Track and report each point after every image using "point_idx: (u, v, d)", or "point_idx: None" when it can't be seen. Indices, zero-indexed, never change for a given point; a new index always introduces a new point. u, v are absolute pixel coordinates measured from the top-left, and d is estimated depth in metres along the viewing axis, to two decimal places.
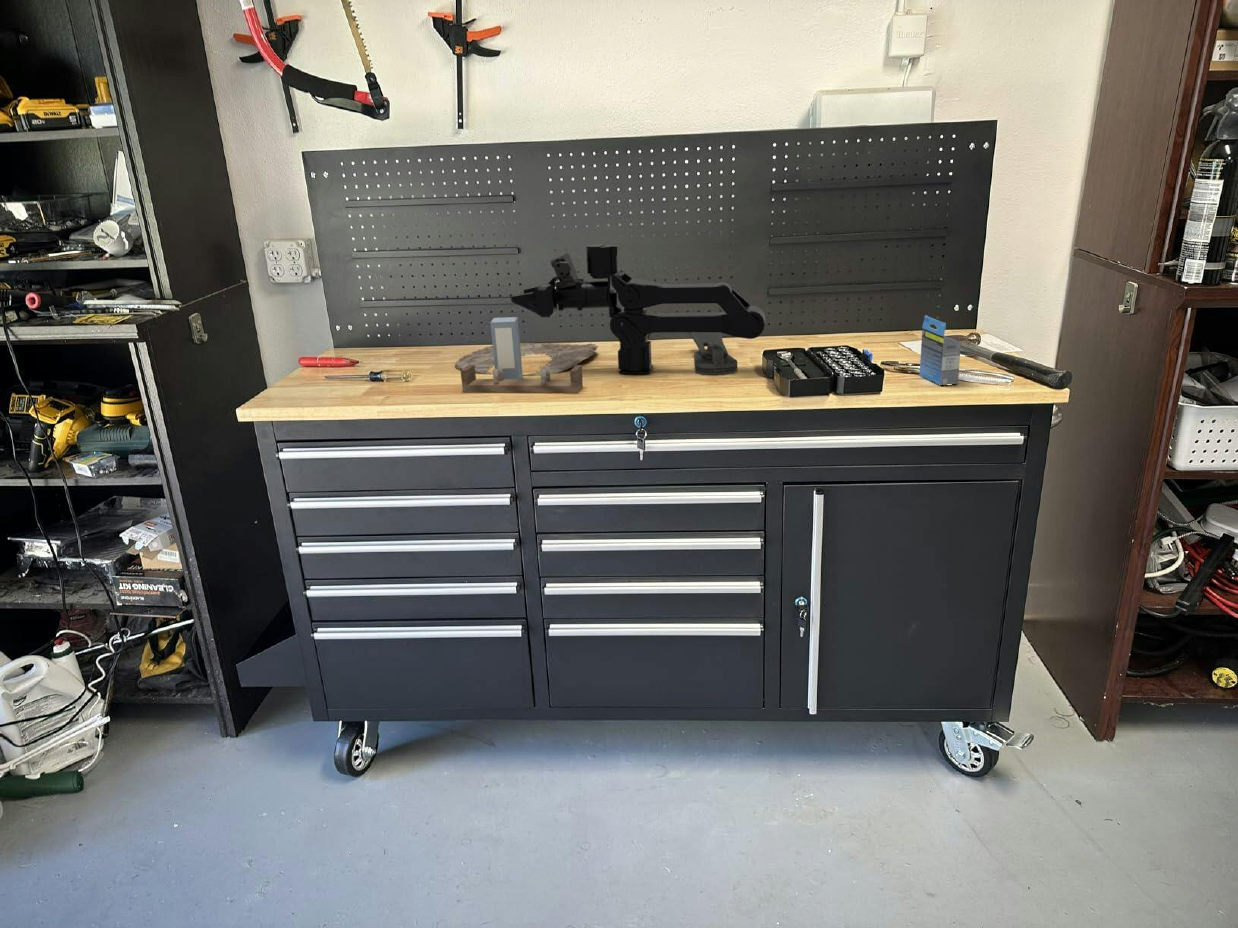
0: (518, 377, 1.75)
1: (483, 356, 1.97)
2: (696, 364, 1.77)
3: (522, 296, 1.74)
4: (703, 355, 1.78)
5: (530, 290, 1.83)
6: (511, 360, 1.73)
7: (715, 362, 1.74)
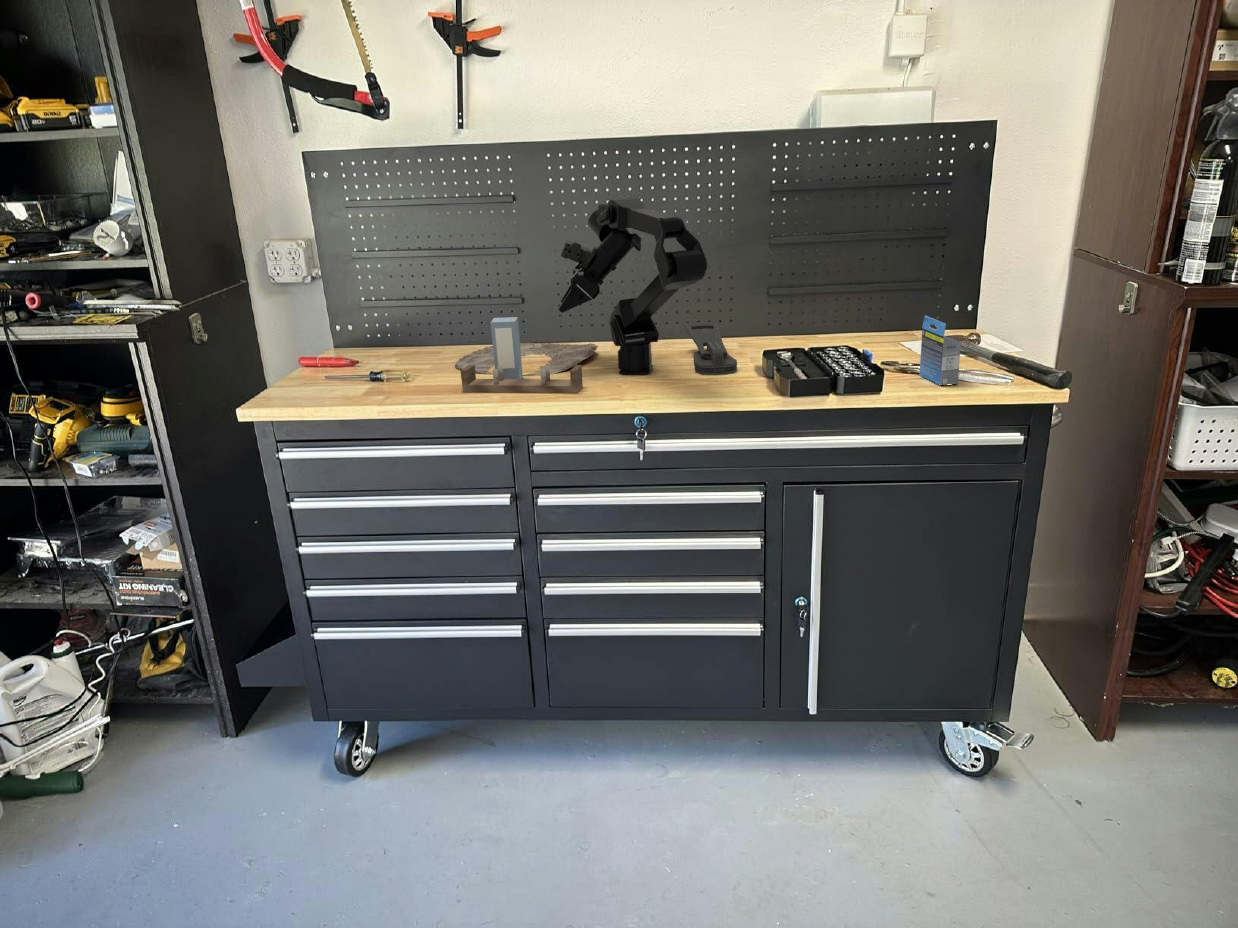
0: (518, 377, 1.75)
1: (483, 356, 1.97)
2: (696, 364, 1.77)
3: (565, 300, 1.75)
4: (703, 355, 1.78)
5: (565, 297, 1.85)
6: (511, 360, 1.73)
7: (715, 362, 1.74)
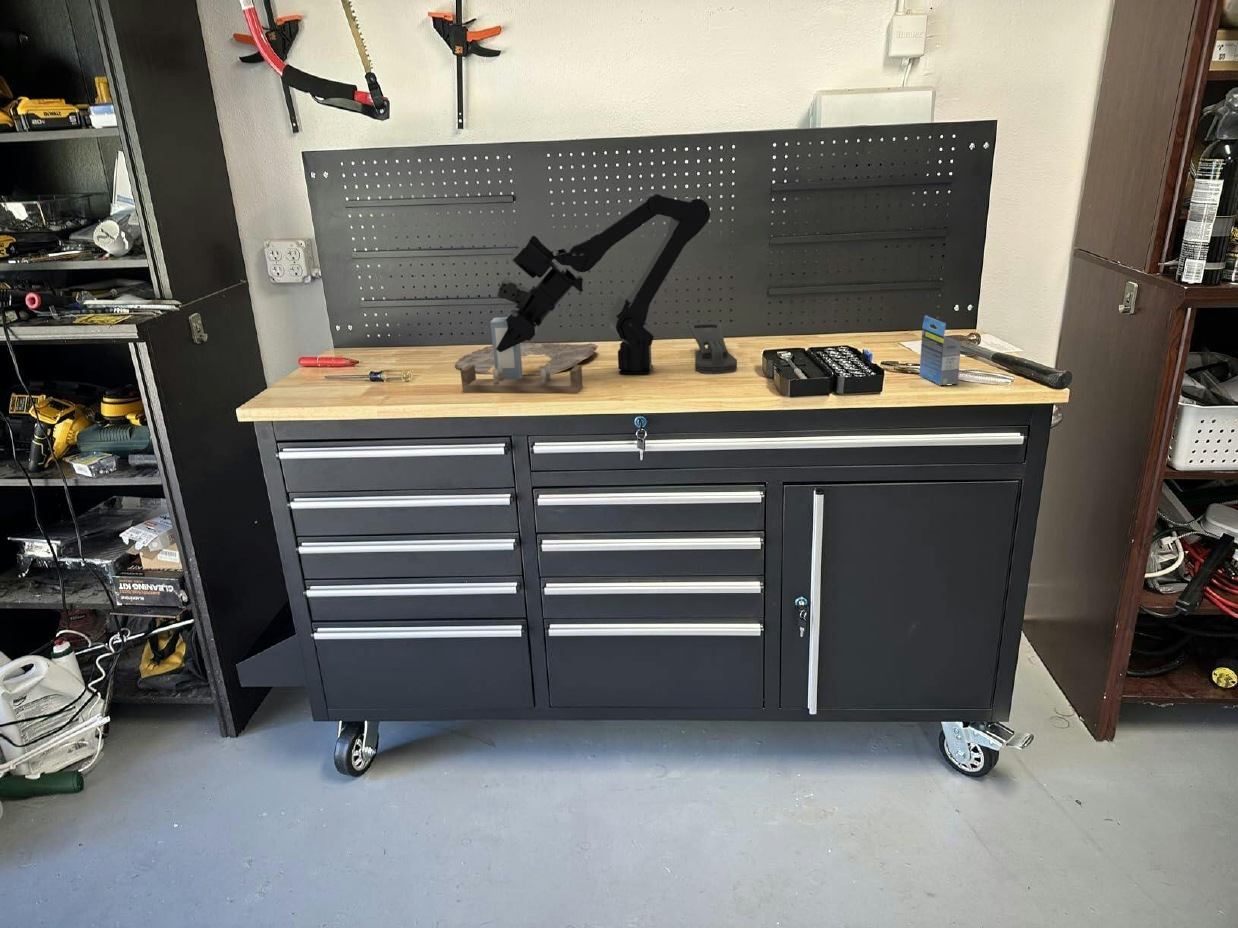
0: (518, 377, 1.75)
1: (483, 356, 1.97)
2: (696, 363, 1.78)
3: (502, 339, 1.71)
4: (703, 354, 1.79)
5: None
6: (511, 360, 1.73)
7: (714, 361, 1.75)
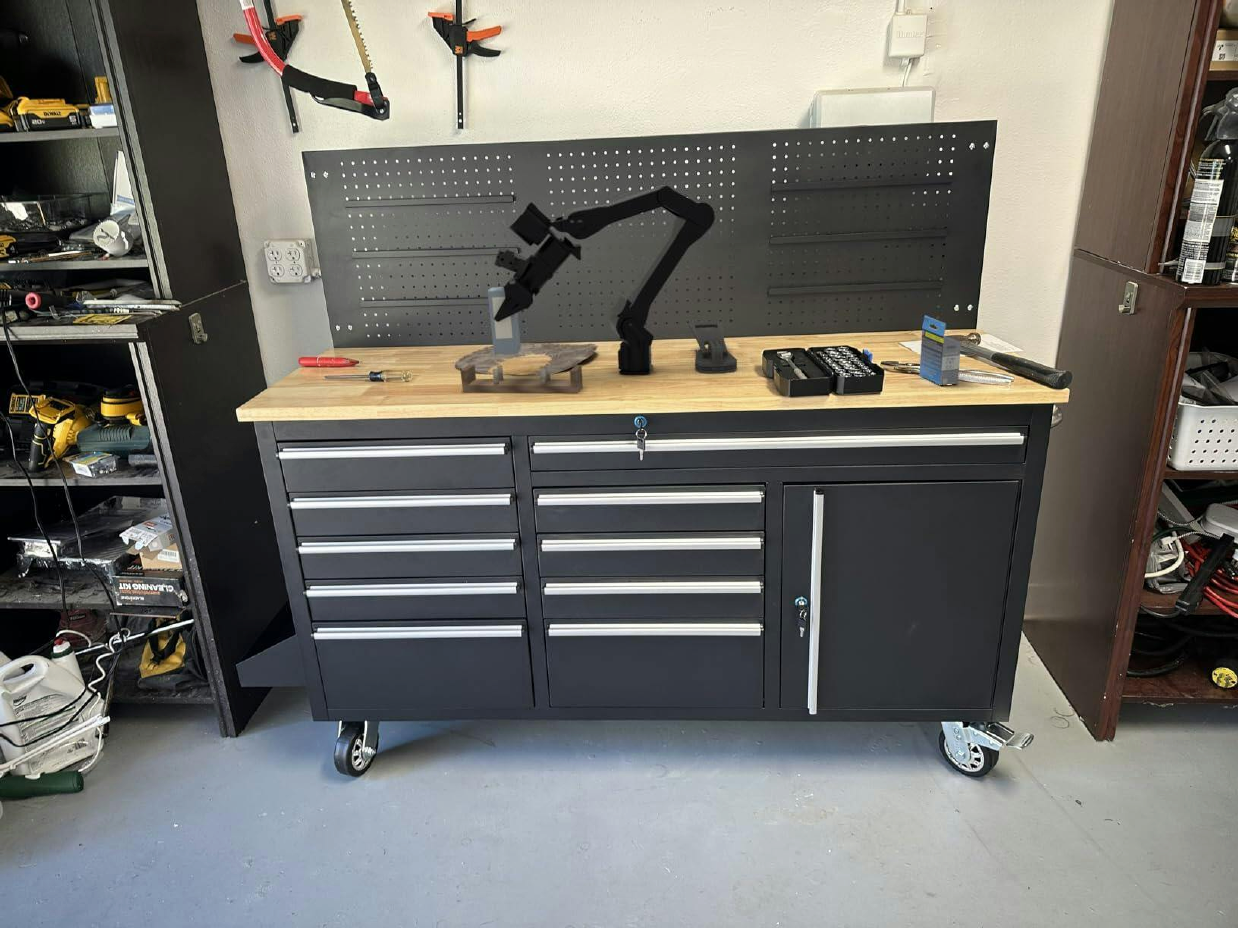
0: (516, 347, 1.73)
1: (483, 356, 1.97)
2: (696, 362, 1.78)
3: (500, 308, 1.69)
4: (703, 353, 1.80)
5: None
6: (509, 330, 1.71)
7: (714, 360, 1.75)
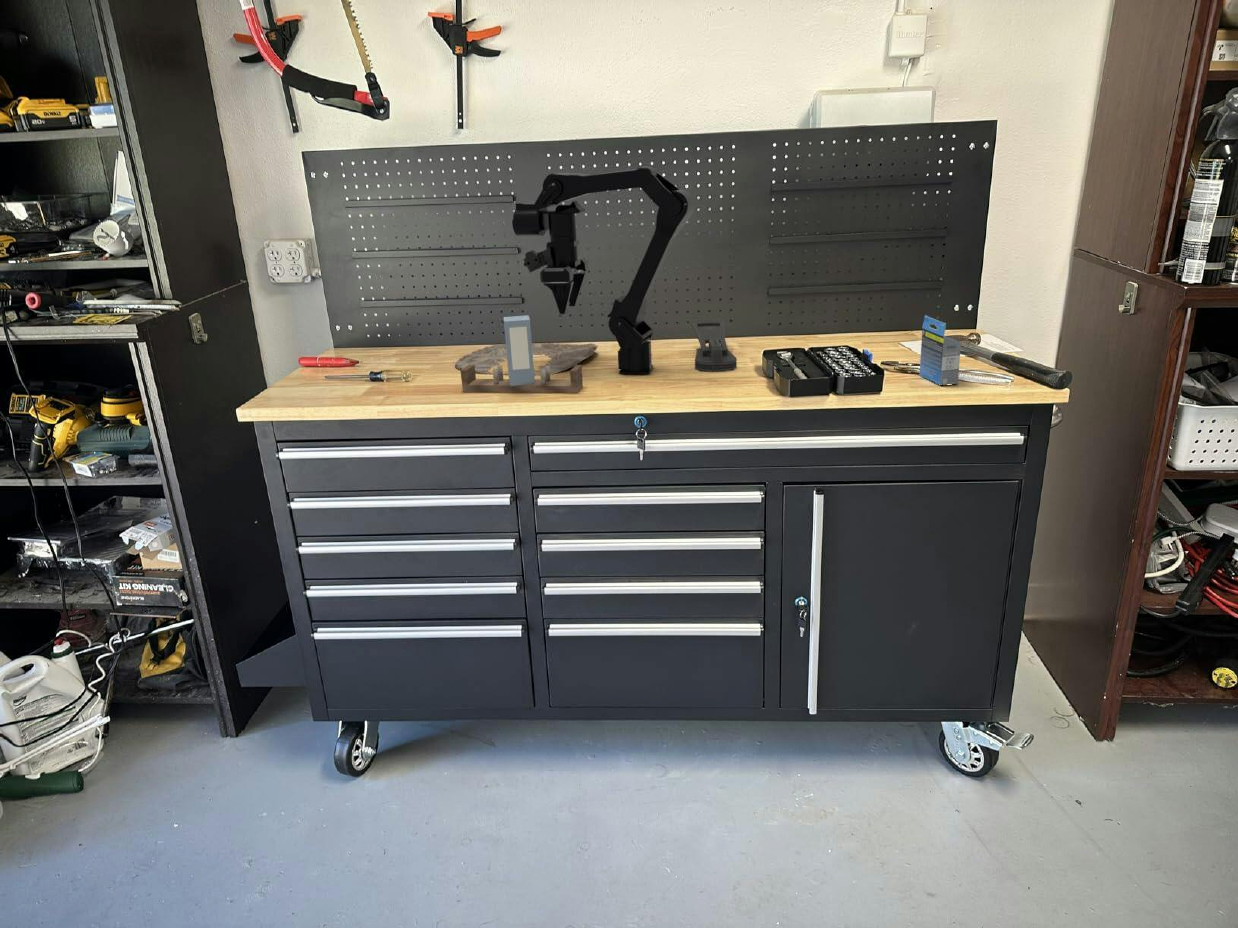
0: (533, 378, 1.68)
1: (483, 356, 1.97)
2: (695, 360, 1.80)
3: (557, 302, 1.75)
4: (703, 352, 1.81)
5: (570, 299, 1.85)
6: (526, 360, 1.66)
7: (713, 359, 1.77)
